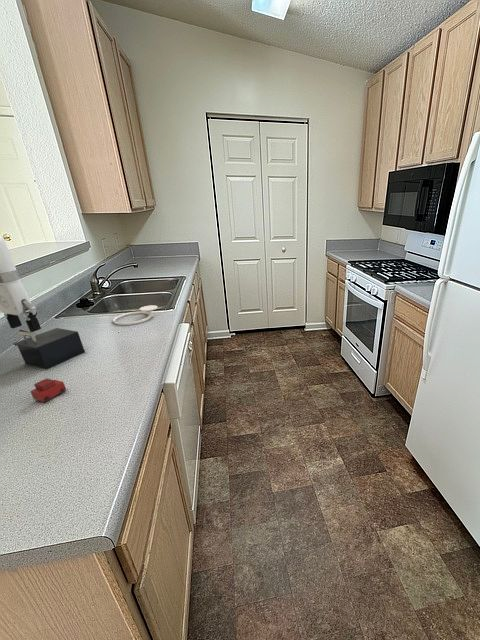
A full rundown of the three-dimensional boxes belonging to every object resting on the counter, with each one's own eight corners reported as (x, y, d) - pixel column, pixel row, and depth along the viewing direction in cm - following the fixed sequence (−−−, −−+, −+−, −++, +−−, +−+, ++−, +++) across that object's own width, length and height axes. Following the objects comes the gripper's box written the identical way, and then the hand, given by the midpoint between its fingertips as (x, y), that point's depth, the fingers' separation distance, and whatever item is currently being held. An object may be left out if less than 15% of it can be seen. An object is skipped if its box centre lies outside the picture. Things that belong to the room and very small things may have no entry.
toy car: (43, 403, 94) (37, 388, 92) (34, 401, 96) (27, 386, 94) (67, 391, 100) (61, 377, 98) (58, 389, 102) (52, 374, 99)
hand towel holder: (111, 308, 160) (156, 302, 167) (113, 317, 162) (158, 310, 169) (109, 318, 146) (159, 311, 154) (112, 327, 148) (161, 320, 156)
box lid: (36, 349, 109) (30, 335, 107) (14, 345, 113) (7, 331, 111) (78, 333, 122) (74, 320, 119) (57, 329, 126) (52, 316, 123)
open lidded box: (47, 369, 113) (38, 348, 110) (25, 364, 117) (16, 344, 114) (85, 352, 125) (78, 333, 122) (64, 348, 129) (57, 329, 126)
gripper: (-27, 278, 103) (-3, 329, 110) (8, 282, 97) (31, 336, 105) (-1, 273, 109) (21, 321, 117) (34, 276, 103) (54, 327, 111)
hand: (26, 328), depth 111 cm, fingers open, 9 cm apart
